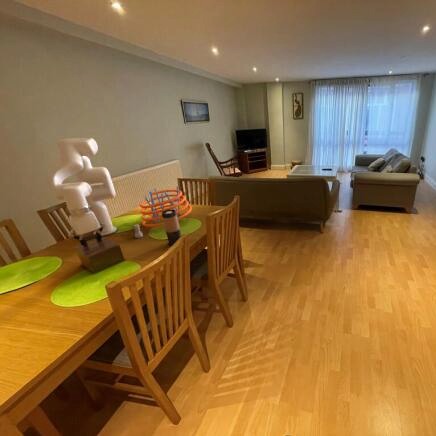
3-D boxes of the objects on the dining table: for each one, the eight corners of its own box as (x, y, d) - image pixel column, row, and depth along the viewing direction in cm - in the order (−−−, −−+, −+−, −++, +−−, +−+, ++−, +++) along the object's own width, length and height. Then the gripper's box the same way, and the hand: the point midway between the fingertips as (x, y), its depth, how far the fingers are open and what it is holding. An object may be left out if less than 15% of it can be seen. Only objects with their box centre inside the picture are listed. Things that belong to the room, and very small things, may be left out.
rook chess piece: (137, 235, 155) (134, 223, 152) (144, 234, 155) (141, 223, 152) (133, 238, 151) (130, 226, 148) (141, 237, 151) (137, 226, 148)
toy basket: (161, 235, 156) (147, 201, 146) (134, 227, 175) (120, 197, 165) (203, 214, 182) (194, 184, 172) (176, 209, 200) (166, 181, 190)
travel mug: (185, 240, 147) (178, 210, 139) (176, 246, 140) (168, 214, 132) (175, 238, 149) (168, 208, 141) (165, 244, 143) (157, 213, 135)
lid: (75, 249, 121) (71, 240, 119) (106, 238, 131) (102, 230, 129) (88, 258, 113) (84, 248, 111) (119, 245, 124) (116, 236, 122)
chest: (82, 264, 124) (76, 250, 120) (111, 253, 134) (106, 239, 131) (94, 273, 117) (88, 258, 113) (124, 260, 127) (119, 245, 124)
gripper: (97, 204, 126) (107, 235, 133) (54, 215, 113) (68, 248, 120) (103, 207, 122) (114, 238, 129) (60, 218, 109) (74, 252, 116)
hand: (92, 242), depth 124 cm, fingers closed on lid, 6 cm apart
